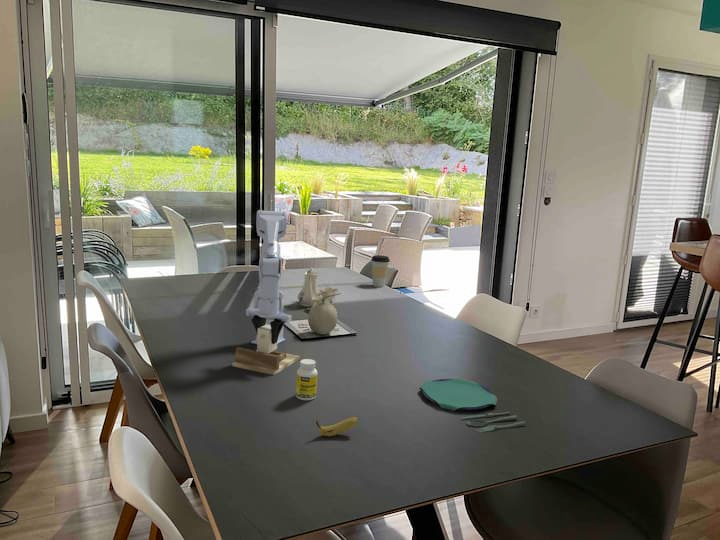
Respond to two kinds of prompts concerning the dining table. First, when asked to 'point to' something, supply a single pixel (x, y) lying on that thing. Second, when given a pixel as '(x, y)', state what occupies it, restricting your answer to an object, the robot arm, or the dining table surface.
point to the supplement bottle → (306, 380)
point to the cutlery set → (465, 400)
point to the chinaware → (314, 290)
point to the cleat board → (263, 360)
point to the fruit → (322, 317)
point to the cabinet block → (265, 340)
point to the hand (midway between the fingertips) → (267, 341)
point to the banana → (337, 427)
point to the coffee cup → (379, 269)
